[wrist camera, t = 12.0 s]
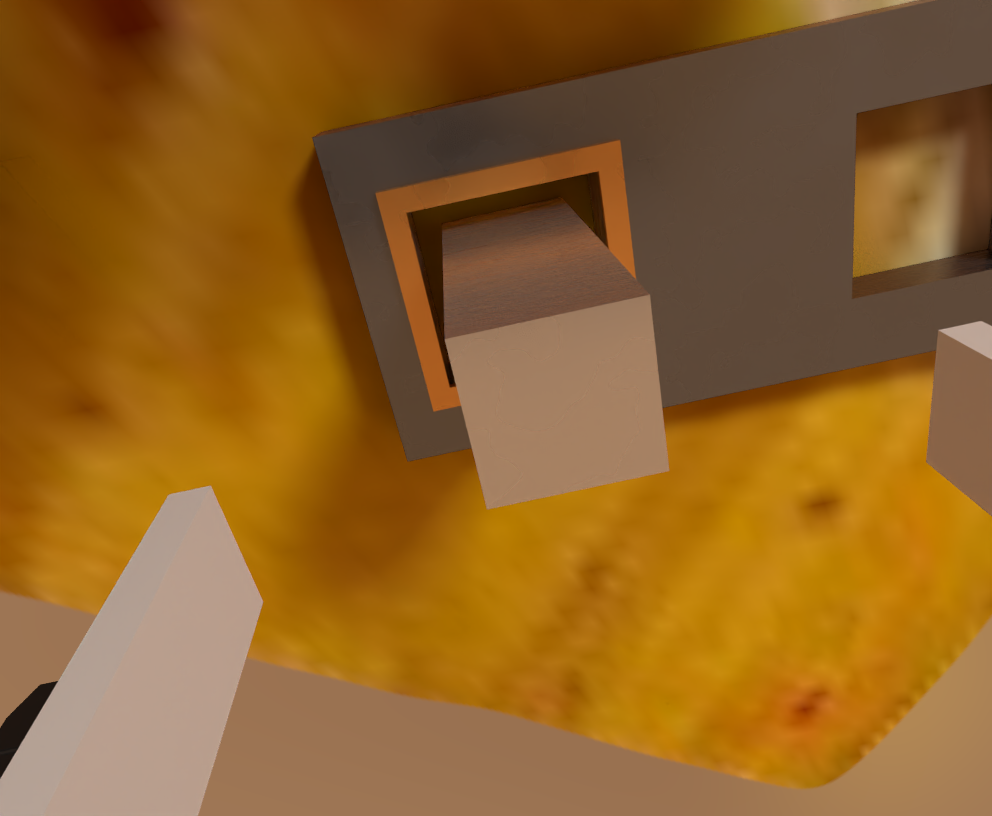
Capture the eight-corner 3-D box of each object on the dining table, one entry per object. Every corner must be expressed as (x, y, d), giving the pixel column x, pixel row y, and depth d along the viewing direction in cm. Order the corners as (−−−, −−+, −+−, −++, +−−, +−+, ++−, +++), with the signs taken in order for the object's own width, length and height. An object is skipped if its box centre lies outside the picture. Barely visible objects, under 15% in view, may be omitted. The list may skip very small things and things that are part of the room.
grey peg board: (409, 437, 30) (407, 465, 27) (321, 131, 24) (310, 138, 22) (1037, 304, 29) (1083, 323, 27) (1087, -37, 24) (1149, -47, 22)
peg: (468, 335, 28) (487, 509, 17) (441, 223, 26) (444, 339, 15) (579, 311, 28) (669, 470, 17) (561, 197, 26) (649, 294, 15)
